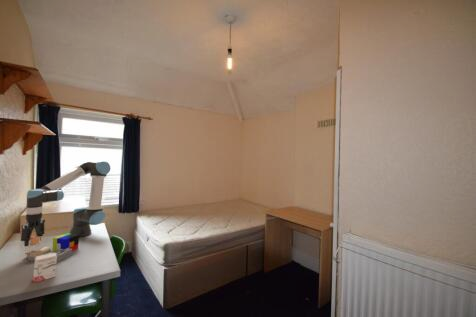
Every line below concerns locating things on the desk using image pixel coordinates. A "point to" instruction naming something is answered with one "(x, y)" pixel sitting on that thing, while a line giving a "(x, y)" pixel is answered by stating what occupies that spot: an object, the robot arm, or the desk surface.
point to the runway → (47, 250)
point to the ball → (34, 240)
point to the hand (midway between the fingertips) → (32, 248)
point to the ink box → (45, 267)
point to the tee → (29, 253)
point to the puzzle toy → (65, 242)
